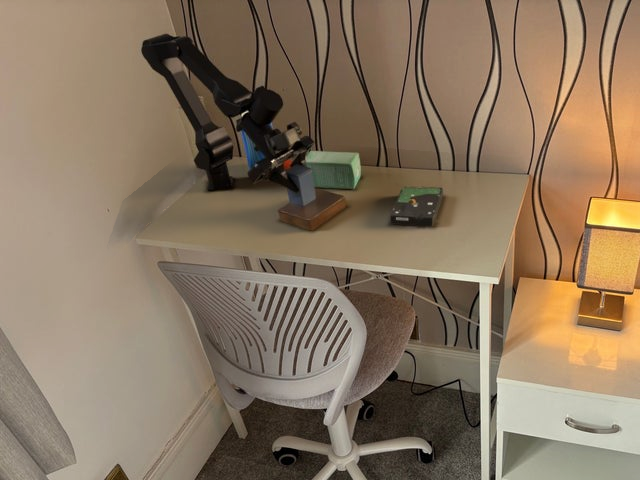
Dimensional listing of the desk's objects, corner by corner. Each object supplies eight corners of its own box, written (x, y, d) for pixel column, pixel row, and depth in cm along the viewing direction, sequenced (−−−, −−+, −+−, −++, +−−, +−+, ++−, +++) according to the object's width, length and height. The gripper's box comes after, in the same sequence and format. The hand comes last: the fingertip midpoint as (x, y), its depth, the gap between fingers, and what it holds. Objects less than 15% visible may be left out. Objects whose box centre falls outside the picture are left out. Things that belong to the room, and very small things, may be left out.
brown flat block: (279, 220, 150) (277, 209, 148) (315, 197, 158) (313, 187, 156) (311, 231, 145) (309, 220, 143) (346, 207, 153) (345, 196, 151)
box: (355, 189, 160) (352, 162, 156) (305, 188, 163) (301, 161, 158) (362, 177, 166) (359, 150, 161) (313, 176, 168) (309, 149, 164)
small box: (289, 202, 151) (283, 171, 146) (301, 194, 153) (296, 164, 149) (303, 206, 148) (298, 175, 144) (316, 198, 151) (311, 168, 146)
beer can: (270, 177, 169) (259, 120, 159) (244, 174, 171) (231, 118, 162) (285, 164, 175) (275, 108, 165) (259, 161, 177) (248, 106, 168)
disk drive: (434, 228, 143) (443, 196, 154) (434, 217, 141) (443, 186, 153) (390, 225, 145) (402, 195, 156) (389, 215, 143) (401, 185, 155)
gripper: (246, 129, 134) (292, 187, 136) (303, 102, 146) (345, 155, 148) (229, 156, 143) (272, 210, 144) (284, 128, 155) (323, 178, 156)
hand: (304, 187), depth 148 cm, fingers closed on small box, 4 cm apart
